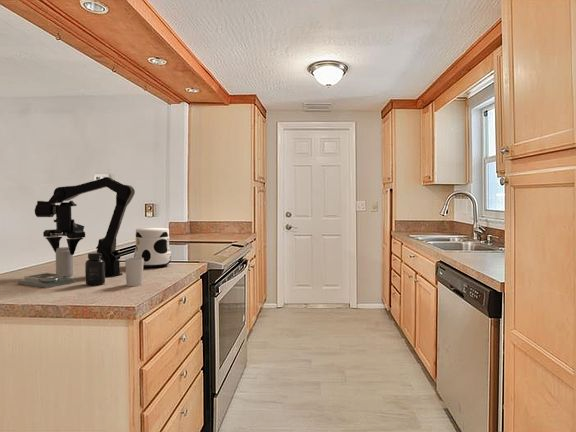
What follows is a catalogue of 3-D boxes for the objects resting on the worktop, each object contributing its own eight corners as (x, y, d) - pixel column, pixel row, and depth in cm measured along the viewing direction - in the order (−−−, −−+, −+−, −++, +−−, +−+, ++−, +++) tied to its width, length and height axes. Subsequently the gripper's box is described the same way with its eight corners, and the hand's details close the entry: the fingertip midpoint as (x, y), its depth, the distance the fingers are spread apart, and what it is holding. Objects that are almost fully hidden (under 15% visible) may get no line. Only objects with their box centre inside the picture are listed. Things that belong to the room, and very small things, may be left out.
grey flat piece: (74, 282, 167) (74, 274, 167) (46, 288, 156) (46, 279, 156) (47, 278, 174) (47, 271, 174) (18, 284, 163) (18, 276, 163)
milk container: (128, 265, 208) (127, 228, 207) (161, 262, 219) (161, 227, 219) (143, 270, 195) (142, 231, 194) (177, 266, 207) (177, 229, 206)
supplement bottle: (109, 283, 166) (108, 252, 165) (95, 286, 159) (95, 254, 159) (94, 281, 168) (94, 251, 167) (81, 285, 161) (80, 253, 161)
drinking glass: (125, 283, 165) (124, 257, 164) (143, 282, 167) (143, 257, 167) (125, 287, 159) (125, 260, 158) (144, 285, 161) (144, 259, 161)
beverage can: (68, 277, 176) (67, 248, 176) (52, 277, 176) (52, 248, 176) (76, 274, 183) (75, 246, 182) (61, 274, 183) (60, 246, 182)
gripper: (95, 216, 182) (96, 253, 183) (65, 215, 190) (66, 250, 190) (72, 217, 172) (73, 256, 172) (42, 217, 180) (42, 253, 180)
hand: (64, 254), depth 179 cm, fingers open, 9 cm apart
